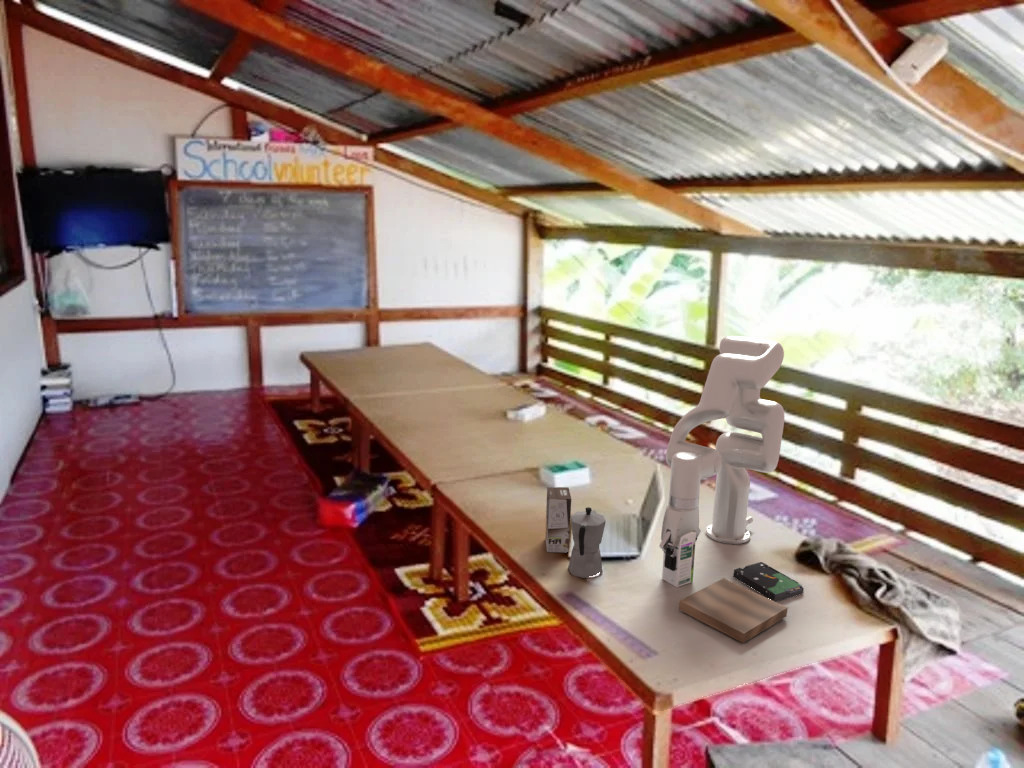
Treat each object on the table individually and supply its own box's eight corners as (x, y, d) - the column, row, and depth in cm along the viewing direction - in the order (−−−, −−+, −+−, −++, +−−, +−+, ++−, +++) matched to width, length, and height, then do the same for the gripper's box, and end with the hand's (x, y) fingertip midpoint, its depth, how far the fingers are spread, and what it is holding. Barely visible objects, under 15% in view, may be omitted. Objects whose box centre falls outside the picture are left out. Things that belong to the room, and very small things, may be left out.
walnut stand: (722, 588, 198) (723, 578, 198) (786, 618, 185) (787, 607, 184) (678, 611, 187) (679, 600, 186) (742, 645, 174) (744, 633, 173)
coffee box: (569, 553, 216) (571, 499, 212) (546, 552, 216) (548, 498, 212) (567, 538, 225) (569, 486, 221) (544, 538, 225) (546, 486, 221)
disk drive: (731, 579, 205) (775, 604, 192) (732, 569, 204) (776, 594, 192) (760, 570, 210) (804, 594, 197) (761, 561, 209) (805, 584, 197)
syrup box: (677, 588, 198) (681, 536, 195) (660, 578, 203) (664, 527, 199) (693, 582, 201) (697, 531, 198) (676, 573, 206) (680, 522, 202)
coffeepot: (573, 556, 214) (576, 496, 209) (607, 562, 211) (610, 500, 207) (560, 583, 199) (563, 518, 195) (596, 589, 197) (600, 523, 192)
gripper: (692, 488, 205) (687, 550, 209) (649, 504, 194) (645, 569, 198) (716, 497, 199) (710, 560, 204) (673, 513, 188) (668, 580, 193)
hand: (678, 564), depth 201 cm, fingers closed on syrup box, 6 cm apart
